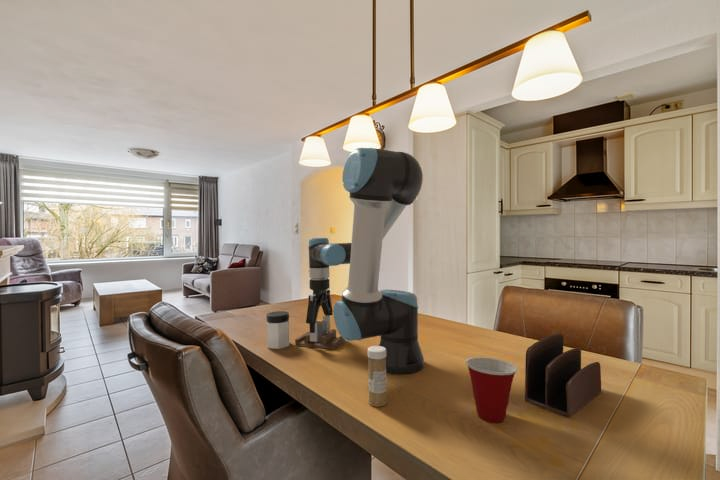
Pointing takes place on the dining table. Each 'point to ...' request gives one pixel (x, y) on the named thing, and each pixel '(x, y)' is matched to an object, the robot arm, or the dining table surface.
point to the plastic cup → (491, 386)
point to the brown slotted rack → (326, 341)
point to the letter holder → (559, 377)
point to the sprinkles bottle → (377, 375)
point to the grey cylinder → (321, 329)
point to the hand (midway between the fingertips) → (320, 336)
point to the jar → (277, 330)
